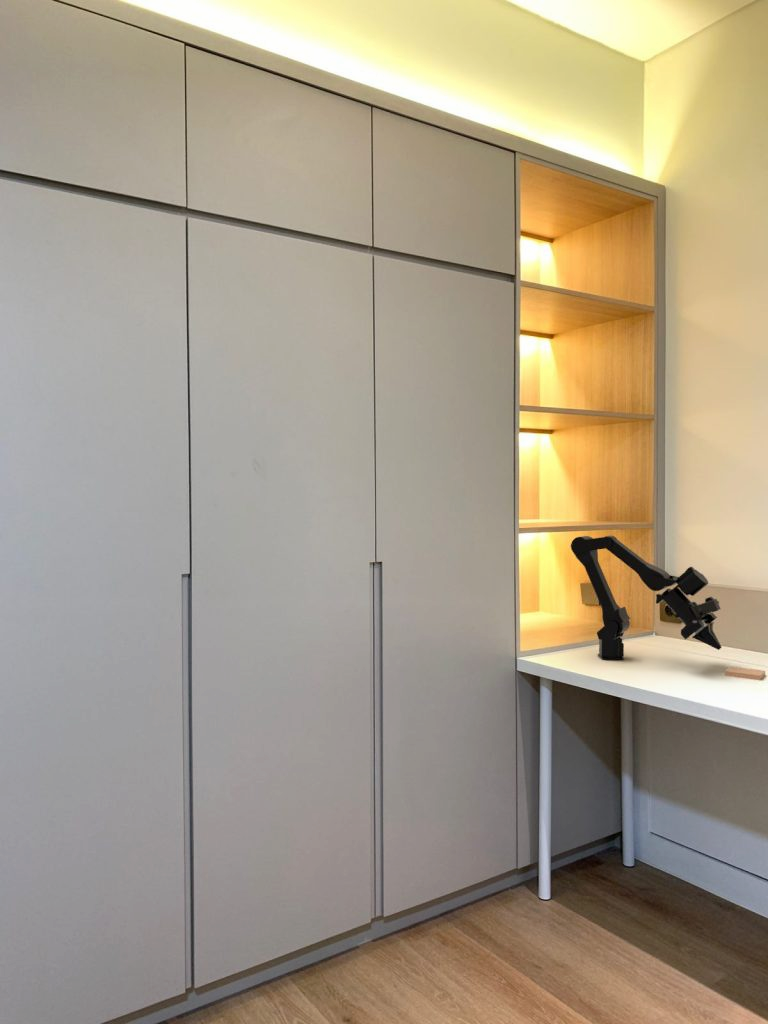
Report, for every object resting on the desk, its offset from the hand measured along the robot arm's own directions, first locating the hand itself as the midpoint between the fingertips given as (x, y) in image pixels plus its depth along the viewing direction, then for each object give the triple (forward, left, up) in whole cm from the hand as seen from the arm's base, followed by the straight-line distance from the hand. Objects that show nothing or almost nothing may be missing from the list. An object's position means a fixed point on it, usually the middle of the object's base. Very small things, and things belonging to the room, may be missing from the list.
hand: (720, 648), depth 220 cm
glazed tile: (+2, -1, -6) cm, 7 cm away
